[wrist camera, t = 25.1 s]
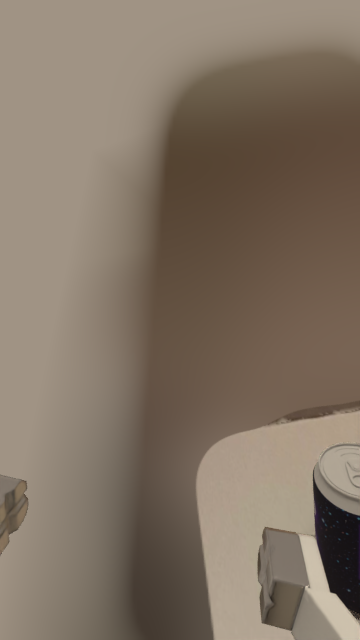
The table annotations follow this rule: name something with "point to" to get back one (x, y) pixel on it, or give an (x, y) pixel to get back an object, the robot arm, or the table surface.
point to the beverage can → (339, 519)
